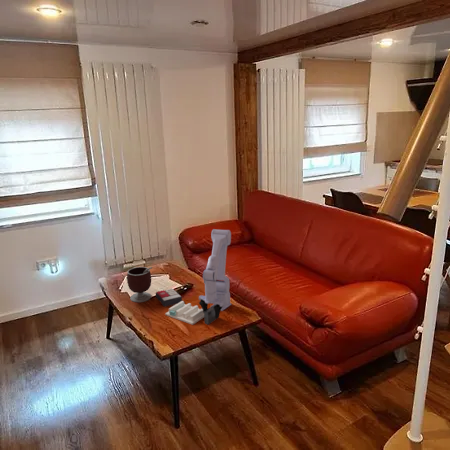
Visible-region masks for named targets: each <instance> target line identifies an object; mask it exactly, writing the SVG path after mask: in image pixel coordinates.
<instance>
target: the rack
mask: <svg viewBox="0 0 450 450" xmlns="http://www.w3.org/2000/svg"><path fill="white" fill-rule="evenodd" d="M164 315H165V316H168V317H170V318H172V319H175V320H179V321H181V322H184V323H187V324H189V325H192V326H193V325H195V324H196V323H197V322H199V321H200V320H202V319H203V318H204V312H203V309H202V308H199V306H198V305H197V304H196V305H194V306H193V305H192V303H190V302H189V303H187V304H185V301H184V300H182V301H181V302H179V303H177V304H173V305H171V307H169V308H168V311H167V312H165V313H164Z"/></svg>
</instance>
